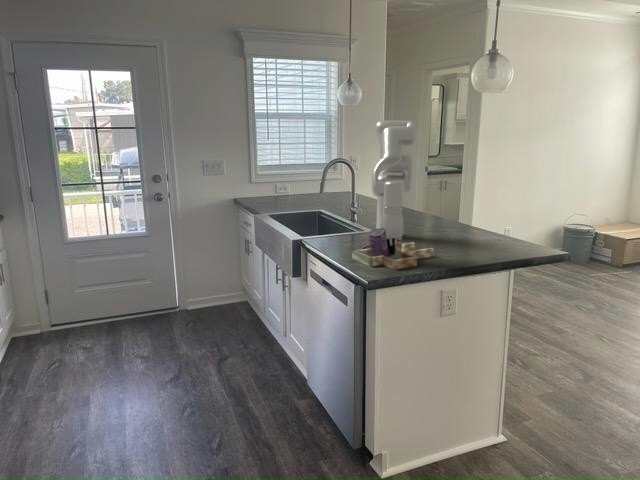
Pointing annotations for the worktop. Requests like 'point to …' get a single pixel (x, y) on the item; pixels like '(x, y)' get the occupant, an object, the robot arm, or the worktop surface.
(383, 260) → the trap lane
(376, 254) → the beverage can
